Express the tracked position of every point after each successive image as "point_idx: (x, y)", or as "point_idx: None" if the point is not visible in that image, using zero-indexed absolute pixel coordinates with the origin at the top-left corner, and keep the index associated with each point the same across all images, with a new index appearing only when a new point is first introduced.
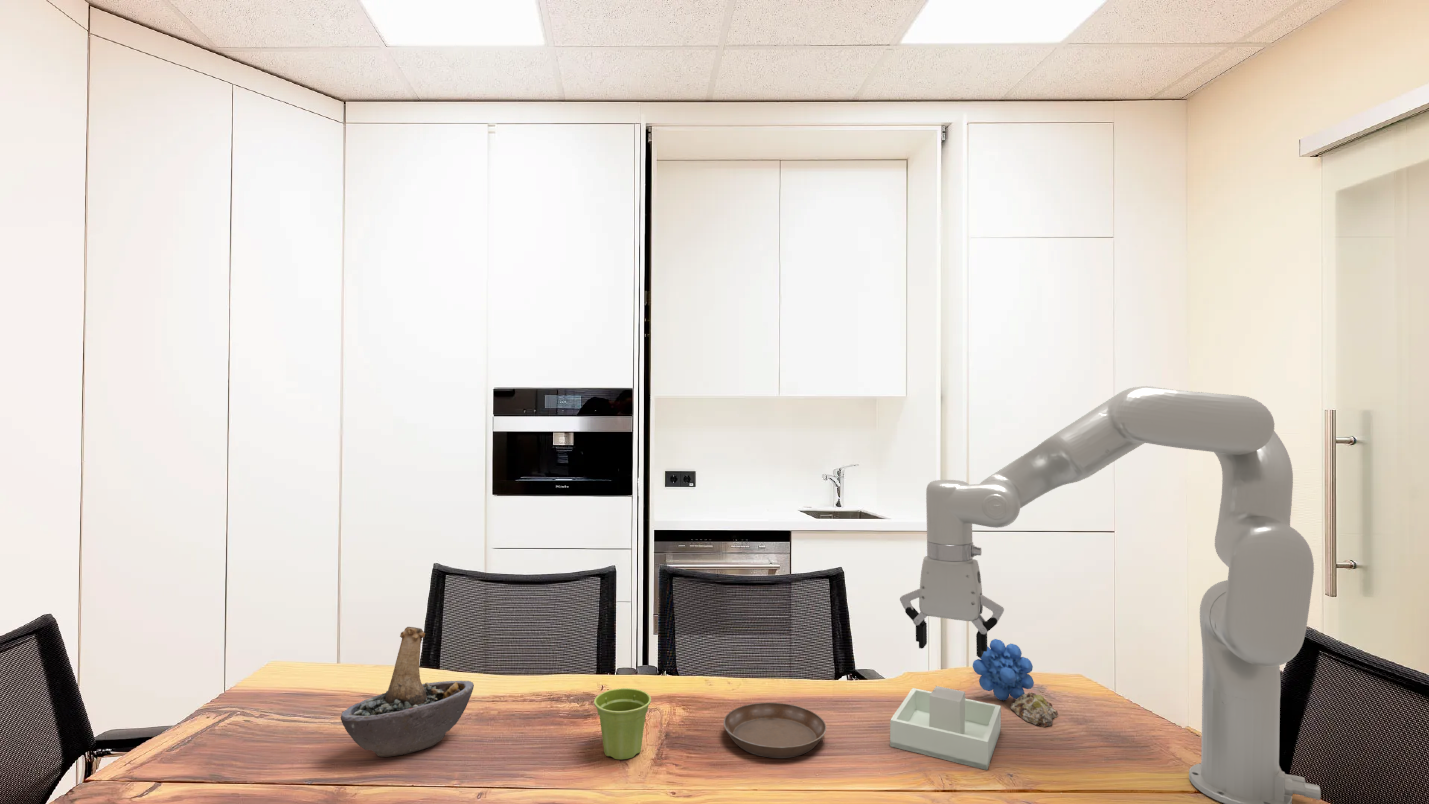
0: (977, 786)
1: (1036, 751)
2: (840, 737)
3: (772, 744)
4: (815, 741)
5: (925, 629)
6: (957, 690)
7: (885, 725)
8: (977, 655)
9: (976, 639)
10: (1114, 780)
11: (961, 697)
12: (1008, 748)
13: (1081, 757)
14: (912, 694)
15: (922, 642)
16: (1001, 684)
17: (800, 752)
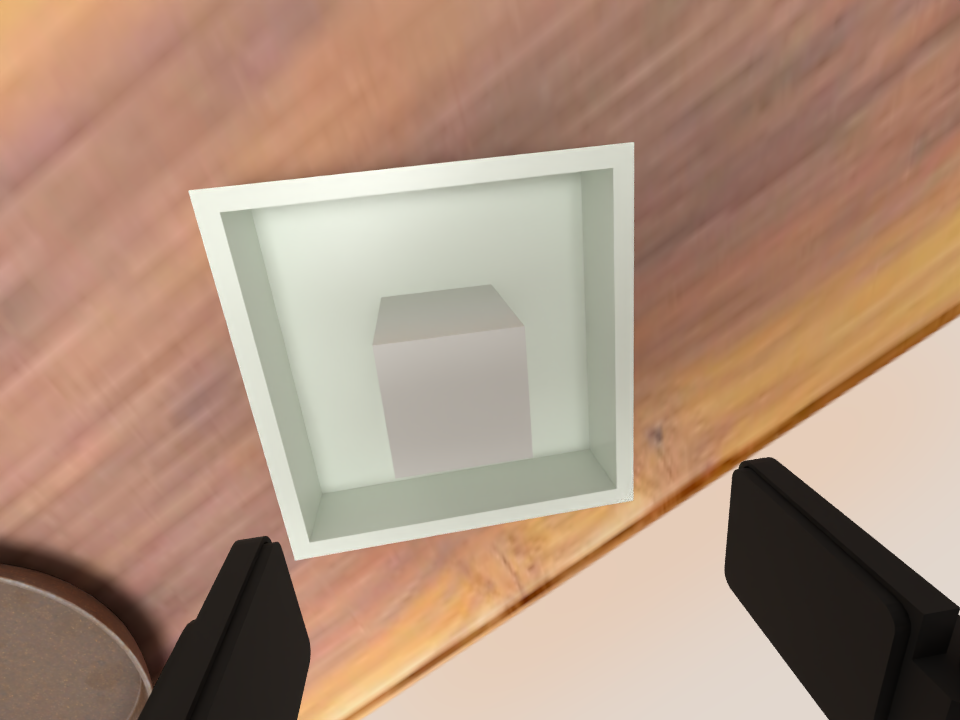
0: (591, 537)
1: (717, 240)
2: (151, 545)
3: (34, 709)
4: None
5: (244, 717)
6: (486, 334)
7: (215, 377)
8: (734, 583)
9: (821, 709)
10: (912, 288)
11: (526, 405)
12: (634, 277)
13: (847, 191)
14: (235, 278)
15: (296, 699)
16: None
17: None
